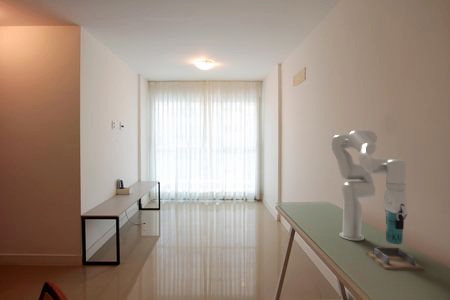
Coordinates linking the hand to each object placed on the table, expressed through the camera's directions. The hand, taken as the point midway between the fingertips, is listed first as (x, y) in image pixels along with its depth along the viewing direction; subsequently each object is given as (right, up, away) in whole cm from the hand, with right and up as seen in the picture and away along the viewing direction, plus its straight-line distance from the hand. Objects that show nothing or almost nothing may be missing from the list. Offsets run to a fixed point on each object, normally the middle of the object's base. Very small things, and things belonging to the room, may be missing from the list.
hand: (394, 226), depth 123 cm
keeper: (0, -16, +1) cm, 16 cm away
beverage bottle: (0, -9, 0) cm, 9 cm away
